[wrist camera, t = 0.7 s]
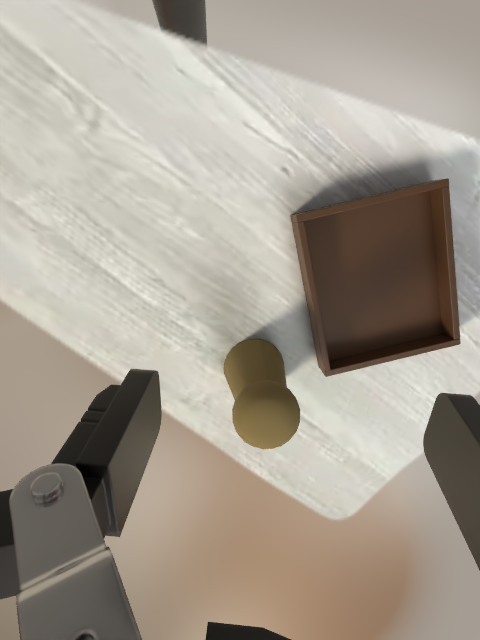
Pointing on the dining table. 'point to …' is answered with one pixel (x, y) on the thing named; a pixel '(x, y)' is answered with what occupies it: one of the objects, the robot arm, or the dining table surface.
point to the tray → (379, 276)
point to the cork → (261, 395)
